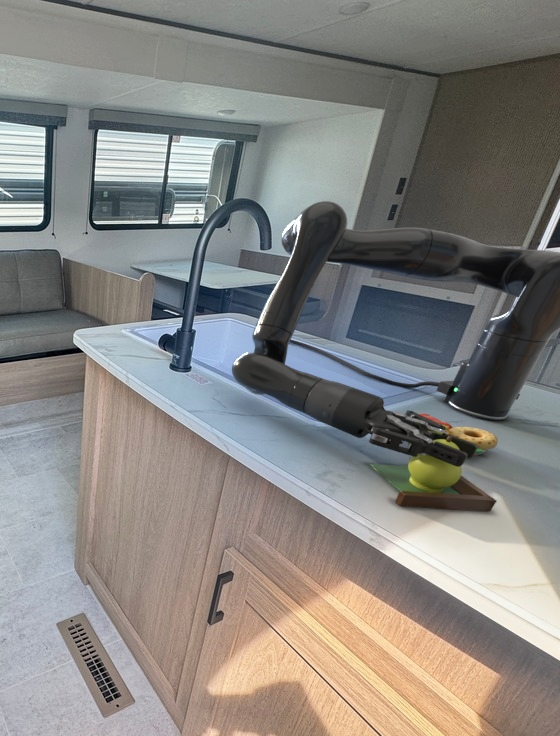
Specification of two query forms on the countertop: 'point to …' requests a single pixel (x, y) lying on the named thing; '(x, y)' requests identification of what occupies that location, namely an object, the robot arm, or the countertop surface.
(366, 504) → the countertop surface
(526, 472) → the countertop surface
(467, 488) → the corner fence
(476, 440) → the toy food set
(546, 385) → the countertop surface
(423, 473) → the pear
